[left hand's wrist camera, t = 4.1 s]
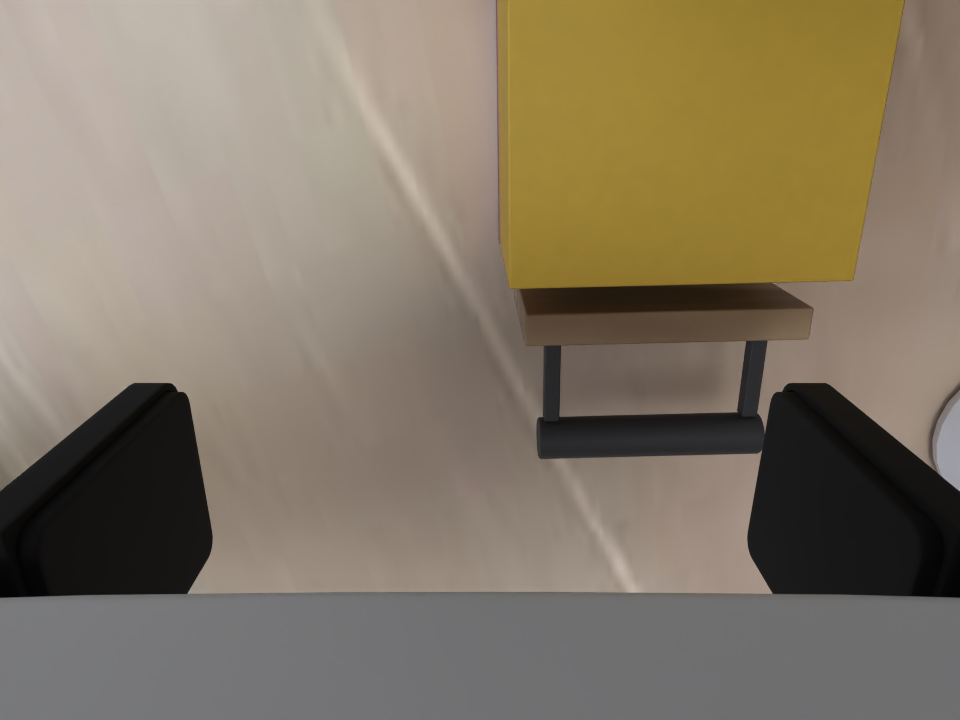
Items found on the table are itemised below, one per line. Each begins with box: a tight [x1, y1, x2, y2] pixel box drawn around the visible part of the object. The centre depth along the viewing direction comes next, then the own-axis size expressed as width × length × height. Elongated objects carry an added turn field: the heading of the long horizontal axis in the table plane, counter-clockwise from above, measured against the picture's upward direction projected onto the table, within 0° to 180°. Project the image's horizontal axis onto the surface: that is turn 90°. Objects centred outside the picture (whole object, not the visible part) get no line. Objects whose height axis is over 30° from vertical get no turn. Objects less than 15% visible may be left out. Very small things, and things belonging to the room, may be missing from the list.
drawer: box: [514, 283, 813, 459], centre depth 25 cm, size 22×10×6 cm, turn 1°
